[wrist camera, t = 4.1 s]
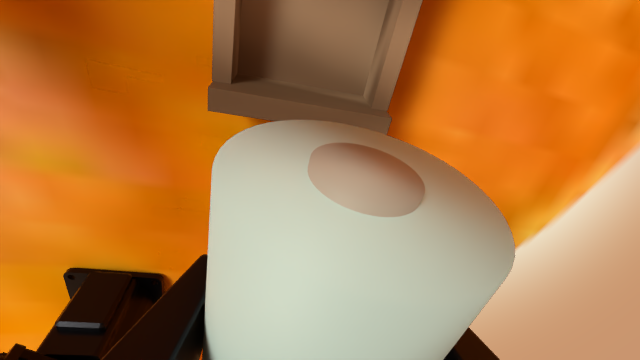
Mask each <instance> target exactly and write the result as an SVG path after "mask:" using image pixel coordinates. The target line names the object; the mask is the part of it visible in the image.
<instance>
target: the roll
mask: <svg viewBox="0 0 640 360" xmlns="http://www.w3.org/2000/svg"><path fill="white" fill-rule="evenodd" d="M514 258H515V244H514V240H513V236H512V232H511V230H510V228H509V226H508V223H507V221H506V220H505V218H504V216H503V215H502V213H501V212H500V210H499V209H498V208H497V206H496V205H495V204H494V203H493V202H492V200H491V199H490V198H489V197H488V196H487V195H486V194H485V193H484V192H483V191H482V190H481V189H480V188H479V187H478V186H477V185H475V184H474V183H473V182H472V181H471V180H470V179H468V178H467V177H466V176H464V175H463V174H462V173H460V172H459V171H458V170H456V169H455V168H453V167H452V166H450V165H448V164H447V163H445V162H444V161H442V160H440V159H438V158H437V157H435V156H433V155H431V154H429V153H427V152H426V151H424V150H422V149H419V148H417V147H415V146H413V145H411V144H409V143H406V142H404V141H401V140H399V139H396V138H393V137H391V136H388V135H385V134H382V133H379V132H375V131H372V130H369V129H365V128H361V127H357V126H352V125H347V124H342V123H335V122H328V121H319V120H283V121H275V122H269V123H264V124H260V125H256V126H253V127H251V128H248V129H245V130H243V131H241V132H239V133H238V134H236V135H234V136H233V137H232V138H230V139H229V140H227V142H226V143H225V144H224V145H223V146H222V147H221V148H220V150H219V151H218V153H217V155H216V157H215V159H214V163H213V167H212V181H211V200H210V220H209V239H208V259H207V278H206V298H205V317H204V337H203V356H202V360H443V359H444V358H445V357H446V355H447V354H448V353H449V352H450V350H451V349H452V348H453V346H454V345H455V344H456V343H457V341H458V340H459V339H460V337H461V336H462V335H463V333H464V332H465V331H466V330H467V328H468V327H469V326H470V324H471V323H472V322H473V320H474V319H475V318H476V317H477V315H478V314H479V313H480V311H481V310H482V309H483V308H484V306H485V305H486V304H487V302H488V301H489V300H490V298H491V297H492V296H493V294H494V293H495V292H496V290H497V289H498V288H499V287H500V285H501V284H502V283H503V282H504V280H505V279H506V277H507V276H508V274H509V272H510V271H511V269H512V266H513V262H514Z"/></svg>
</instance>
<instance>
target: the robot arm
mask: <svg viewBox="0 0 640 360" xmlns="http://www.w3.org/2000/svg"><path fill="white" fill-rule="evenodd" d="M207 259H208V254H203V255H201V256H200V257H199V258H198V259H197V260H196V261H195V262H194V263H193V265H192V266H191V267H190V268H189V269H188V270H187V271H186V272H185V273H184V274H183V275H182V276H181V277H180V278H179V279H178V280H177V281H176V282H175V283H174V284H173V285H172V286H171V287H170V288H169V289H168V290H167V292H166V293H165V292H164V279H163V277H162V276H161V275H159V274H151V273H136V272H122V271H108V270H94V269H80V268H70V269H68V270H67V271H66V272H65V274H64V276H63V277H64V280H65V283H66V286H67V290H68V293H69V296H70V299H71V300H70V302H69V303H68V304H67V306H66V307H65V309H64V310H63V312H62V313H61V315H60V316H59V317H58V319H57V320H56V322H55V325H54V326H53V327H52V329H51V330H50V332H49V333H48V335H47V336H46V338H45V339H44V340H43V342H42V343H41V345H40V346H39V348H38V349H37V351H36V352H35V351H32V350H29V349H26V346H23V345H20V344H17V343H16V344H15V345H14V346H13V347H12V348H11V350H10V351H9V352H8V353H4V352H3V353H0V360H199V358H200V355H201V352H202V349H203V337H204V317H205V298H206V278H207ZM443 360H499V358H498V357H497V356H496V355H495V354H494V353H493V352H492V351H491V350H490V349H489V348H488V347H487V346H486V345H485V344H484V343H483V342H482V341H481V340H480V339H479V338H478V336H477V335H476V334H475V333H474V332H473V331H472V330H471V329H470V328H469V327H468V328H467V330H466V331H465V332H464V333H463V335H462V336H461V337H460V339H459V340H458V341H457V343H456V344H455V345H454V346H453V348H452V349H451V350H450V352H449V353H448V354H447V355H446V357H445V358H444V359H443Z"/></svg>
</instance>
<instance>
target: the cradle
mask: <svg viewBox="0 0 640 360" xmlns="http://www.w3.org/2000/svg"><path fill="white" fill-rule="evenodd" d="M422 1H423V0H214V20H213V62H212V81H213V82H212V83H211V84H210V86H209V87H208V111H213V112H220V113H226V114H232V115H239V116H245V117H252V118H258V119H264V120H271V121H283V120H319V121H328V122H335V123H342V124H347V125H352V126H357V127H361V128H365V129H369V130H372V131H375V132H379V133H382V134H385V135H387V132H388V129H389V126H390V123H391V120H392V118H391V116H390V115H389V114H388V112H387V110H388V107H389V104H390V101H391V98H392V95H393V92H394V88H395V85H396V82H397V79H398V76H399V73H400V70H401V66H402V63H403V60H404V57H405V54H406V51H407V48H408V45H409V41H410V38H411V35H412V32H413V29H414V26H415V23H416V19H417V16H418V13H419V10H420V7H421V4H422Z"/></svg>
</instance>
